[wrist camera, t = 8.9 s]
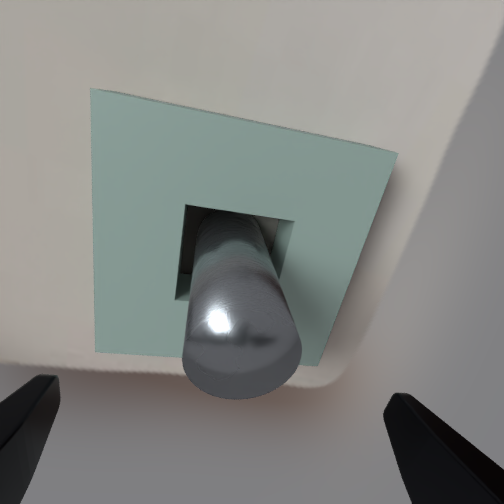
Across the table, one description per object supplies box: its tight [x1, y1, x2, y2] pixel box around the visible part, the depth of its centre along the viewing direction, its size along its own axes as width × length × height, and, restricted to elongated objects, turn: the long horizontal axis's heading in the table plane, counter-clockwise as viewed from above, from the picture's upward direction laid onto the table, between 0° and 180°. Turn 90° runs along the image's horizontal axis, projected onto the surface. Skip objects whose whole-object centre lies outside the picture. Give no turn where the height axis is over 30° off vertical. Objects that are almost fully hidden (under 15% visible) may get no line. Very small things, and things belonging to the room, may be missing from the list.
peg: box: [182, 210, 302, 399], centre depth 15 cm, size 4×4×10 cm
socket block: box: [90, 88, 398, 366], centre depth 18 cm, size 14×14×3 cm
